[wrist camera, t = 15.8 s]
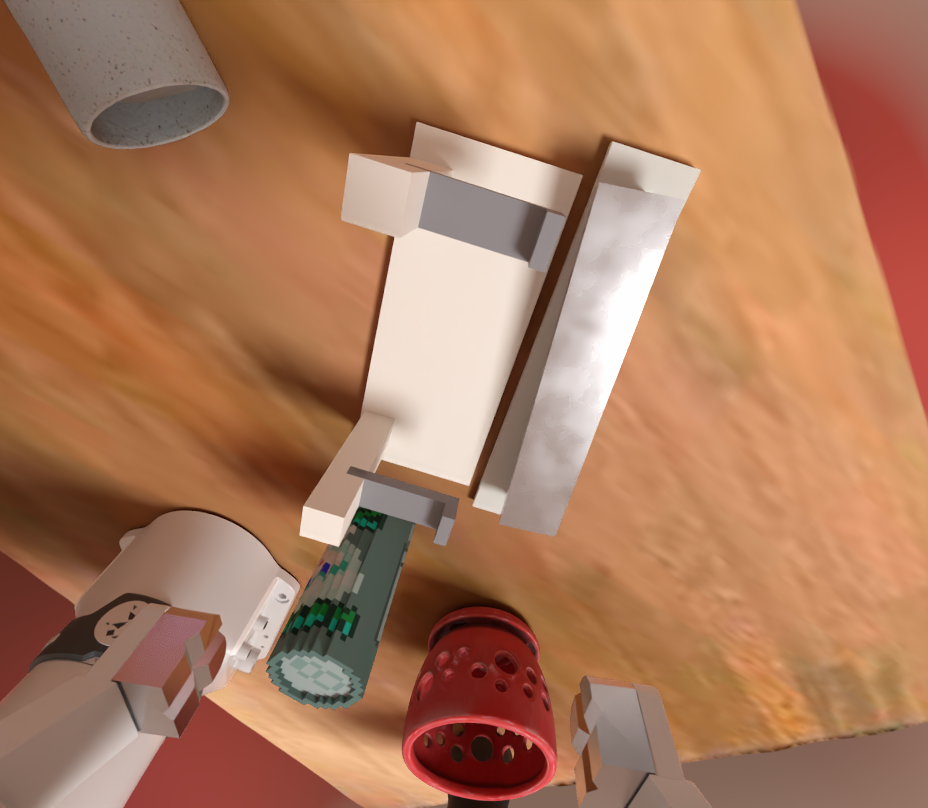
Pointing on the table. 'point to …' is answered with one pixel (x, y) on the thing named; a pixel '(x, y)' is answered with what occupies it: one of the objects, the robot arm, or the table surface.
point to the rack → (440, 317)
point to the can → (342, 614)
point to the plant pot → (481, 708)
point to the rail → (587, 348)
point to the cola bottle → (481, 752)
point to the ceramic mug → (125, 68)
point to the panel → (618, 170)
